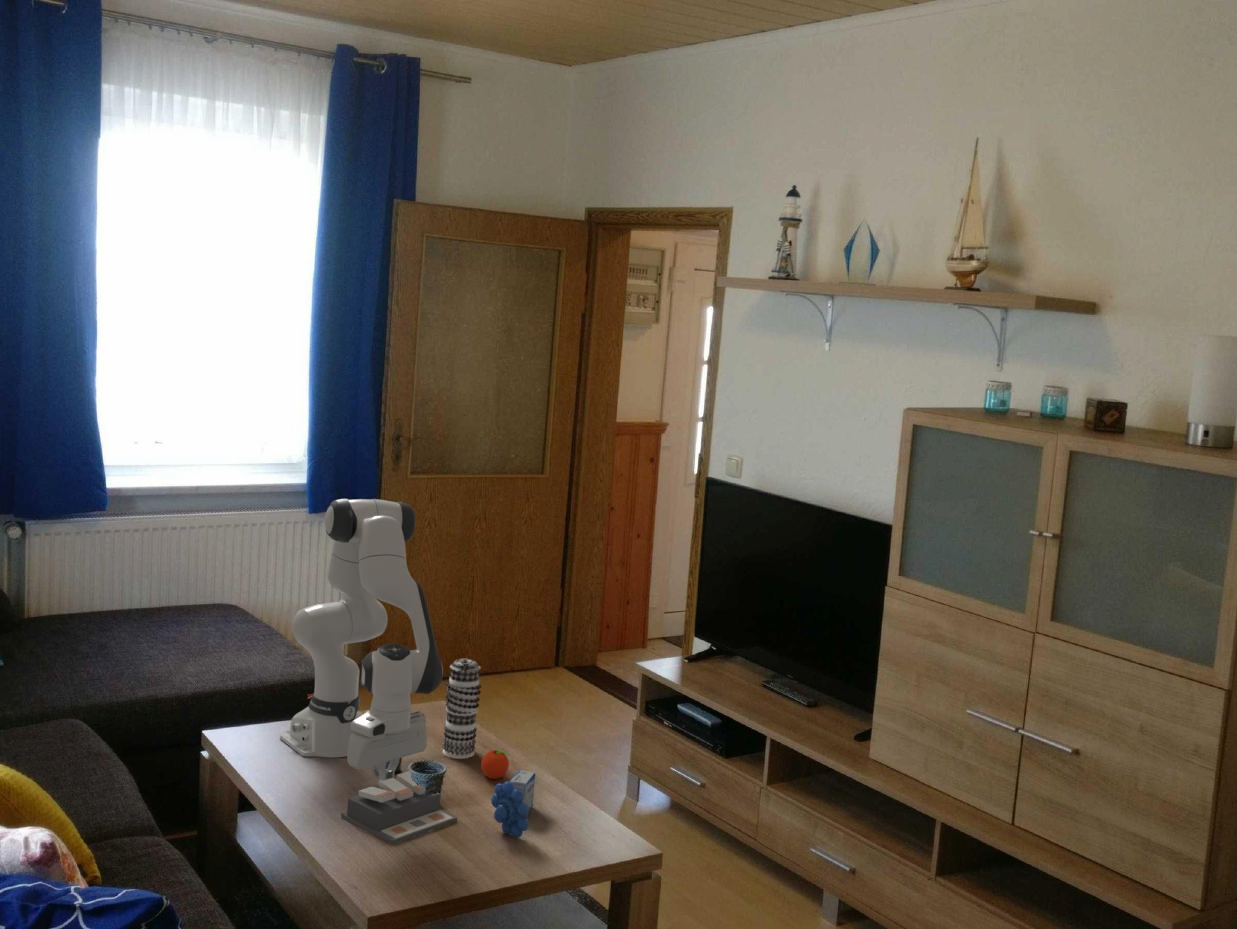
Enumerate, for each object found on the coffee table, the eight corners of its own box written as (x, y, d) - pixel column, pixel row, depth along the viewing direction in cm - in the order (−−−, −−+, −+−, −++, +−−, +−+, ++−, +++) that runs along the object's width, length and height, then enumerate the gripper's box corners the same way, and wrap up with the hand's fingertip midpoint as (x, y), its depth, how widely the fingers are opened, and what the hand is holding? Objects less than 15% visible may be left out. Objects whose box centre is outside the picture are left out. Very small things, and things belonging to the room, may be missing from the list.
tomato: (508, 771, 311) (510, 745, 310) (514, 782, 305) (516, 755, 304) (477, 772, 309) (479, 746, 308) (483, 783, 302) (485, 756, 301)
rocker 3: (396, 779, 283) (397, 774, 282) (408, 775, 286) (409, 770, 285) (418, 794, 278) (419, 789, 278) (431, 790, 281) (432, 785, 281)
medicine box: (524, 819, 283) (527, 784, 282) (505, 816, 284) (508, 780, 283) (533, 806, 291) (536, 772, 290) (515, 803, 292) (518, 769, 291)
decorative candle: (453, 761, 314) (461, 668, 311) (434, 750, 321) (441, 658, 318) (482, 755, 320) (490, 664, 317) (463, 744, 327) (470, 654, 324)
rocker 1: (358, 795, 274) (358, 789, 274) (371, 791, 277) (371, 785, 277) (381, 802, 269) (381, 796, 269) (395, 798, 272) (394, 792, 272)
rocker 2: (377, 785, 278) (378, 779, 278) (390, 781, 281) (391, 775, 281) (400, 800, 274) (401, 795, 273) (412, 796, 277) (413, 791, 276)
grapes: (476, 830, 275) (480, 779, 274) (498, 822, 280) (502, 772, 279) (512, 848, 268) (516, 796, 266) (533, 840, 273) (538, 789, 271)
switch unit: (340, 817, 275) (342, 796, 275) (405, 796, 290) (406, 776, 289) (392, 844, 264) (394, 823, 263) (457, 821, 279) (458, 800, 278)
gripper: (416, 706, 279) (412, 763, 281) (344, 724, 263) (341, 785, 265) (434, 713, 275) (431, 771, 277) (363, 732, 260) (359, 794, 261)
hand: (386, 778), depth 271 cm, fingers closed
